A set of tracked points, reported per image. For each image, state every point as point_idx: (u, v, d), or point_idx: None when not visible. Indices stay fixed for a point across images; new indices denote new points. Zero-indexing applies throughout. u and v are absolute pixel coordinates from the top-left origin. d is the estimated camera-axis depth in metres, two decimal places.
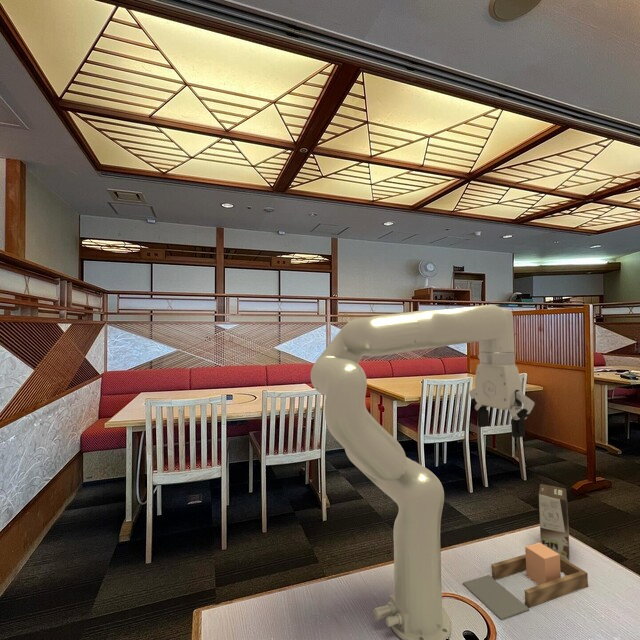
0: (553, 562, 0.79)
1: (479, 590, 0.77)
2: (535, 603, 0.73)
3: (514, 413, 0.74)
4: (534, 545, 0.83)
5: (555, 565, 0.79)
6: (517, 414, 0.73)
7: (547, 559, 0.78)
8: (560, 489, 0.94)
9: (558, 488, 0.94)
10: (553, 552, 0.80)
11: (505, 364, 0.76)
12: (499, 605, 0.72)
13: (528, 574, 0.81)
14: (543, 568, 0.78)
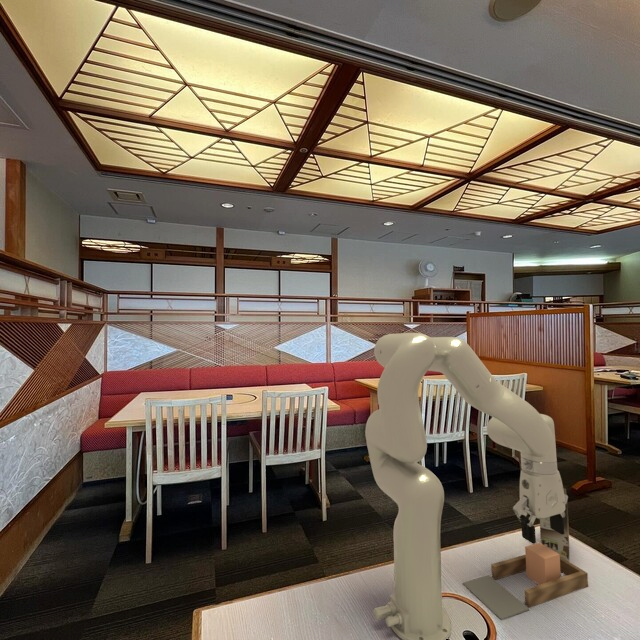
0: (553, 562, 0.79)
1: (479, 590, 0.77)
2: (535, 603, 0.73)
3: None
4: (534, 545, 0.83)
5: (555, 565, 0.79)
6: None
7: (547, 559, 0.78)
8: None
9: None
10: (553, 552, 0.80)
11: None
12: (499, 605, 0.72)
13: (528, 574, 0.81)
14: (543, 568, 0.78)
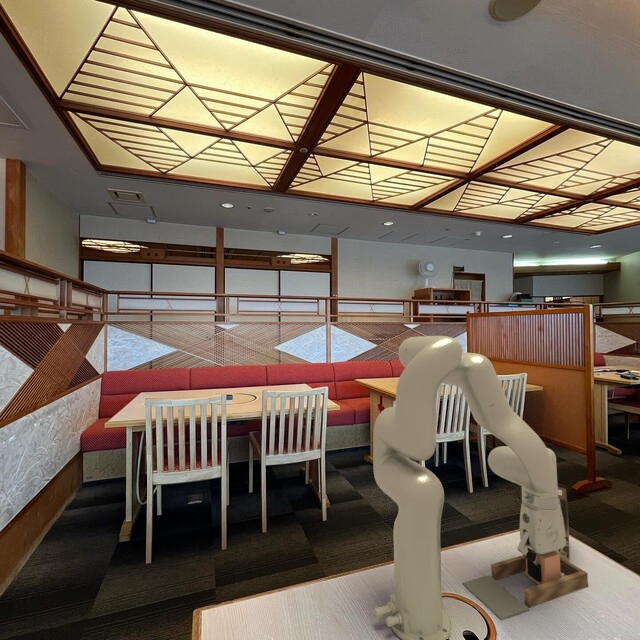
0: (553, 562, 0.79)
1: (479, 590, 0.77)
2: (535, 603, 0.73)
3: (558, 552, 0.81)
4: None
5: (555, 565, 0.79)
6: None
7: (547, 559, 0.78)
8: (560, 489, 0.94)
9: (558, 488, 0.94)
10: (553, 552, 0.80)
11: None
12: (499, 605, 0.72)
13: (528, 574, 0.81)
14: (543, 568, 0.78)
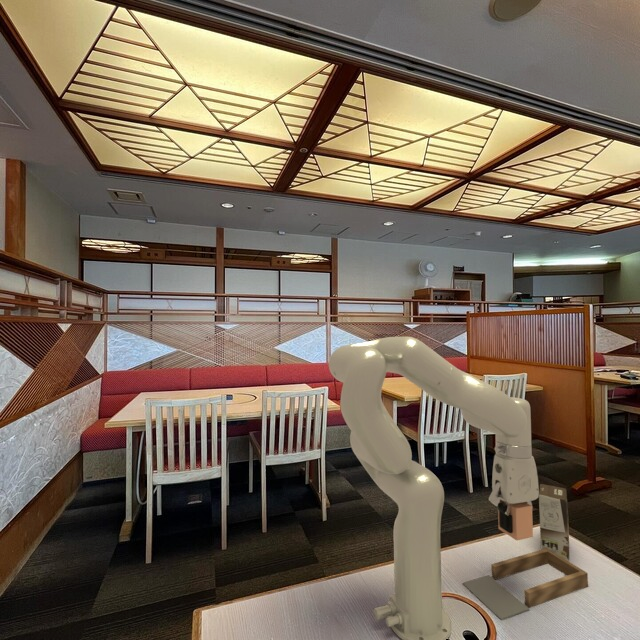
0: (525, 512, 0.77)
1: (479, 590, 0.77)
2: (535, 603, 0.73)
3: (530, 504, 0.79)
4: None
5: (526, 516, 0.77)
6: None
7: (519, 509, 0.76)
8: (560, 489, 0.94)
9: (558, 488, 0.94)
10: (525, 504, 0.78)
11: None
12: (499, 605, 0.72)
13: (500, 527, 0.79)
14: (514, 518, 0.76)
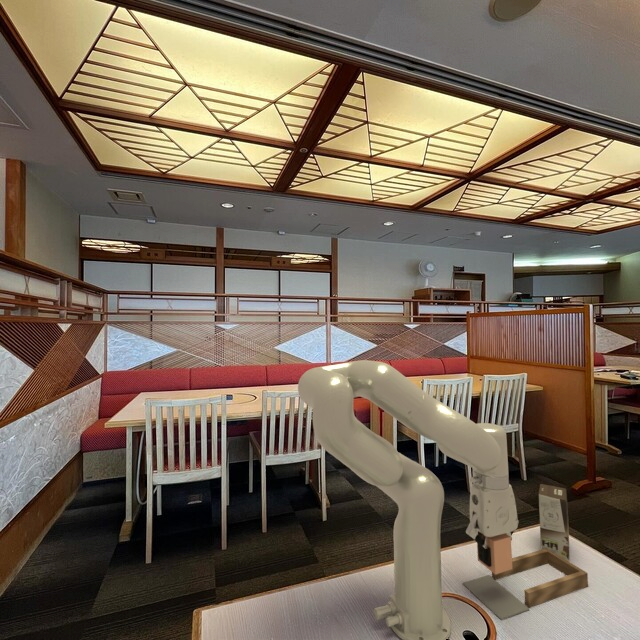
0: (504, 545, 0.74)
1: (479, 590, 0.77)
2: (535, 603, 0.73)
3: (510, 535, 0.76)
4: None
5: (505, 548, 0.74)
6: None
7: (497, 542, 0.73)
8: (560, 489, 0.94)
9: (558, 488, 0.94)
10: (504, 535, 0.75)
11: None
12: (499, 605, 0.72)
13: None
14: (492, 551, 0.73)
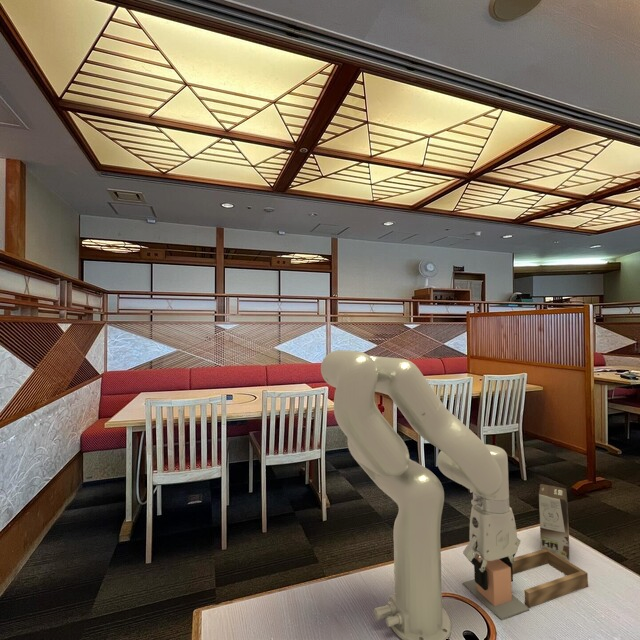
0: (503, 576, 0.73)
1: None
2: (535, 603, 0.73)
3: (512, 556, 0.76)
4: None
5: (505, 579, 0.73)
6: None
7: (497, 573, 0.73)
8: (560, 489, 0.94)
9: (558, 488, 0.94)
10: (504, 565, 0.75)
11: None
12: (499, 605, 0.72)
13: (478, 588, 0.76)
14: (492, 582, 0.73)
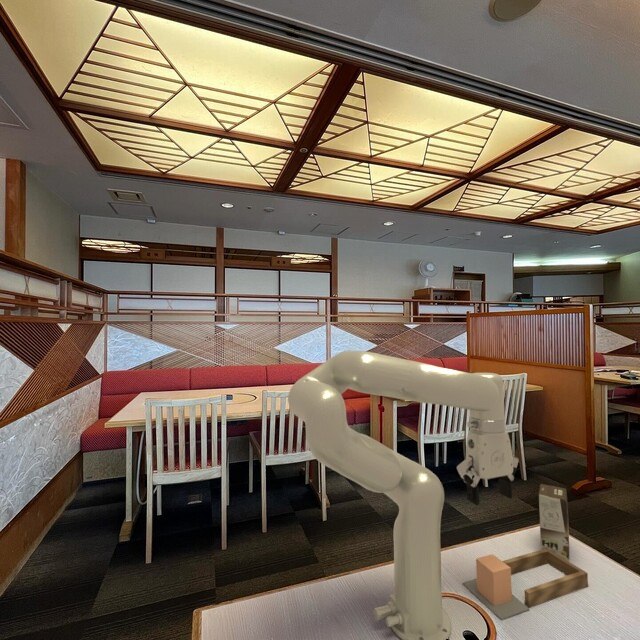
0: (503, 576, 0.73)
1: None
2: (535, 603, 0.73)
3: (510, 474, 0.78)
4: (486, 557, 0.78)
5: (505, 579, 0.73)
6: None
7: (497, 573, 0.73)
8: (560, 489, 0.94)
9: (558, 488, 0.94)
10: (504, 565, 0.75)
11: None
12: (499, 605, 0.72)
13: (478, 588, 0.76)
14: (492, 582, 0.73)
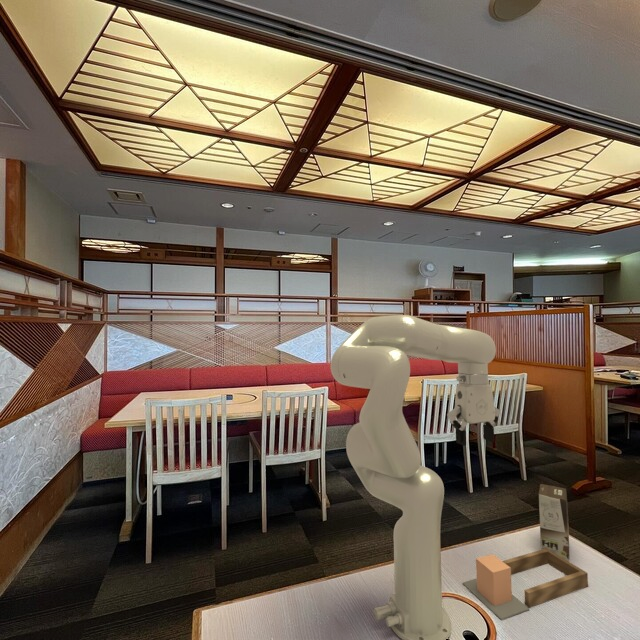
0: (503, 576, 0.73)
1: None
2: (535, 603, 0.73)
3: (493, 422, 0.92)
4: (486, 557, 0.78)
5: (505, 579, 0.73)
6: None
7: (497, 573, 0.73)
8: (560, 489, 0.94)
9: (558, 488, 0.94)
10: (504, 565, 0.75)
11: None
12: (499, 605, 0.72)
13: (478, 588, 0.76)
14: (492, 582, 0.73)
